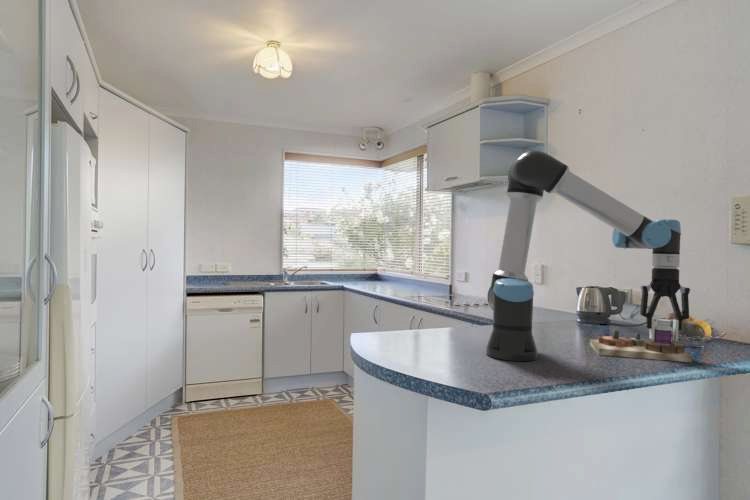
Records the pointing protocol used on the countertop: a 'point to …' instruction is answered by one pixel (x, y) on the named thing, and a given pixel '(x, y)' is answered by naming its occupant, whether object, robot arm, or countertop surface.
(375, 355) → the countertop surface
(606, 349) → the gear board
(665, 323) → the pill bottle
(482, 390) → the countertop surface
